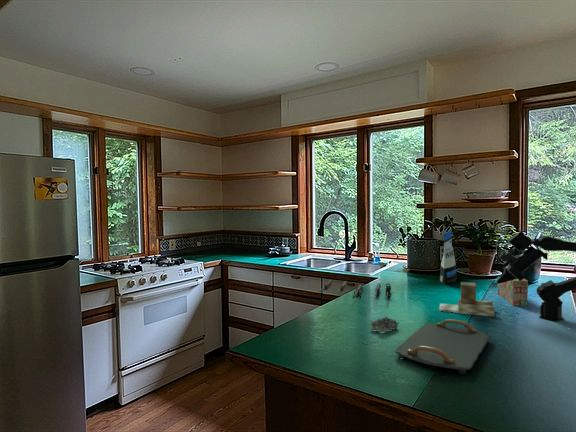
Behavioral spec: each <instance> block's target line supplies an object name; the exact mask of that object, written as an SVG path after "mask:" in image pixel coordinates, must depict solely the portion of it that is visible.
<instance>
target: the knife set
mask: <svg viewBox="0 0 576 432" xmlns="http://www.w3.org/2000/svg"><path fill="white" fill-rule="evenodd" d="M332 285H333V280H332V279H329V280H328V282H326V283H325V284H324V285H323V288H321V289H320V290H318V292H319V293H323V292H324V291H327V290H329V289H330V288H331V287H332ZM347 286H348V282H347V280H344V281H343V282H342V284H341V285H340V286H339V289H338V290H337V291H336V293H337V294H338V293H339V292H344V291H345V290H346V288H347ZM381 286H382V285H381V283H380V282H378V283H377V284H376V288H375V290H374V292H375V293H374V296H375V297H376V296H377V295H379V294H380V291H381ZM385 287H386V288H385V298H386V300H388V299H389V298H388V297H391V292H392V291H391V290H392V286H391V284H390V283H386V284H385ZM364 289H365V287H363V285H362V284H359V285H358V286H357V287H356V289H355V290H353V295H352V297H353V298H355V297H357V296H360V295H362V291H363V290H364Z"/></svg>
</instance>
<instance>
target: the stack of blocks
mask: <svg viewBox="0 0 576 432" xmlns="http://www.w3.org/2000/svg"><path fill="white" fill-rule="evenodd" d="M499 277H500V276H497V278H496V281H497V280H498V279H499ZM528 285H529V280H527V279H525V278H524V279H523V280H521V281H519V280H518V279H515V280H511V281H507V282H503V283H500V284H498V283H497V295H498V296H499V297H501V298H502V299H503V300H505V301H506V302H508V304H510V305H511V306H513V307H528V302H529V301H528V295H529V294H528V292H529V291H528V289H529V286H528Z"/></svg>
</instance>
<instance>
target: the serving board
mask: <svg viewBox="0 0 576 432" xmlns="http://www.w3.org/2000/svg"><path fill="white" fill-rule="evenodd" d="M454 324H457V325H454ZM459 325H461V326H459ZM490 339H491V335H490V334H488V333H487V332H483V331H479V330H478V329H475V328H473V327H472V325H471V324H469V323H468V322H466V321H463V320H459V319H452V318H451V319H448V318H447V319H445V320H443V321H441V322H437V323H433V322H428V323H424V324H423V325H422V326H421V327H420V328H418V329H417V331H415V332H413V334H411V335H410V336H409V337H408V338H407V339H405V341H403V342H402V343H401V344H400V345H398V347H396V348H395V350H394V353H396V354H397V355H398V359H399V358H405V359H406V358H407V359H409V360H412V361H415V362H419V363H421V364H425V365H428V366H433V367H439V368H446V369H451V370H457V374H459V375H461V374H462V375H461V376H465V375H466V372H467V371H469V370H471V369H472V368H473V366H474V364H475V363H476V361H477V360H478V359H479V355H480V354H481V353H483V350H484V348H485V347H486V346H487V343H488V341H490ZM464 374H465V375H464Z"/></svg>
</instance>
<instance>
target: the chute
mask: <svg viewBox="0 0 576 432" xmlns="http://www.w3.org/2000/svg"><path fill="white" fill-rule="evenodd" d="M457 300H458V302H457V303H458V304H454V303H453V304H451V303H439V307H438V311H439V312H441V311H443V312H442V313H451V312H453V313H454V314H461V315H462V314H463V315H474V316H484V317H485V316H486V317H495V309H496V308H495V306H494V302H493V301H489V300H478V299H476V305H473V304H461V298H458V299H457ZM453 313H452V314H453Z"/></svg>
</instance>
